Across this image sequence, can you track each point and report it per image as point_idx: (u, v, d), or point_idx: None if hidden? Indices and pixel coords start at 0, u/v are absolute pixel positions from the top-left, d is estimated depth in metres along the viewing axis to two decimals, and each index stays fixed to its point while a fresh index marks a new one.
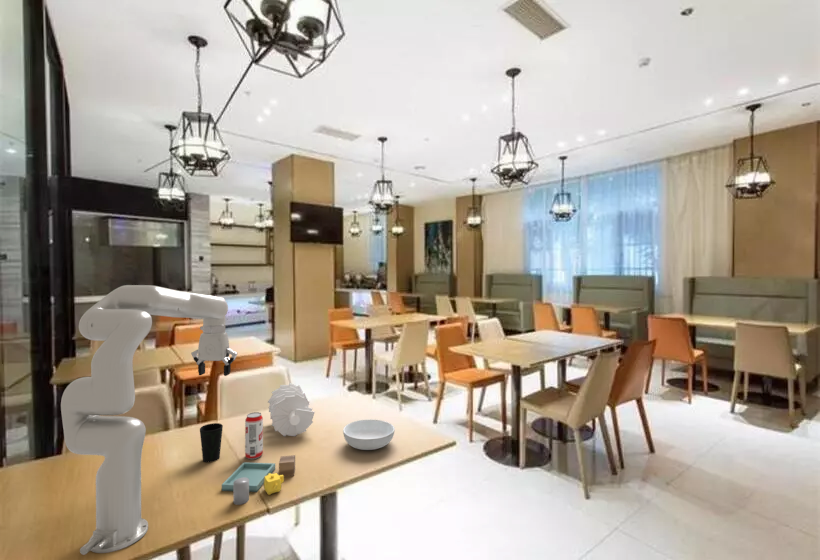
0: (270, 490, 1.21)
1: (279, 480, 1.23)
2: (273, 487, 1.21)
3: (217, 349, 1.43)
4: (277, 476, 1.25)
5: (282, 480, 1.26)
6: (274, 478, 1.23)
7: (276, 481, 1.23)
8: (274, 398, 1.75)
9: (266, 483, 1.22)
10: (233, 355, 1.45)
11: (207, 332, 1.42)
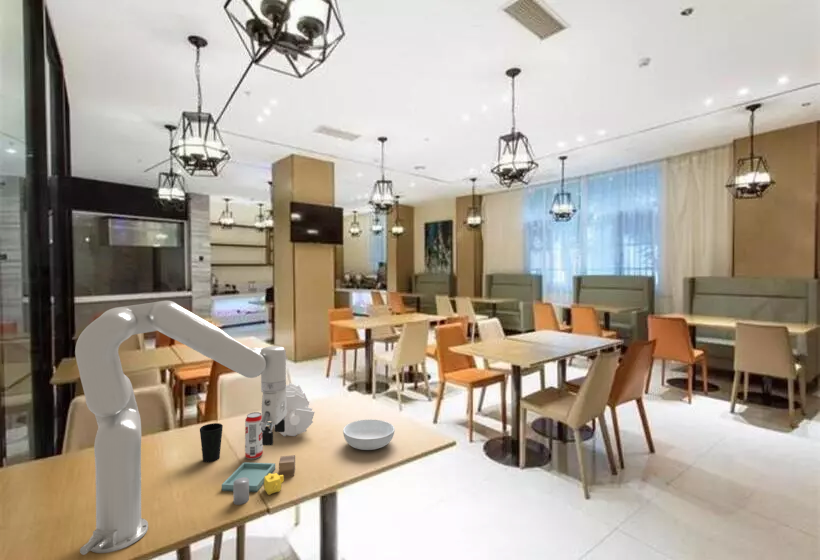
0: (270, 490, 1.21)
1: (279, 480, 1.23)
2: (273, 487, 1.21)
3: (285, 404, 1.27)
4: (277, 476, 1.25)
5: (282, 480, 1.26)
6: (274, 478, 1.23)
7: (276, 481, 1.23)
8: None
9: (266, 483, 1.22)
10: None
11: (284, 387, 1.24)
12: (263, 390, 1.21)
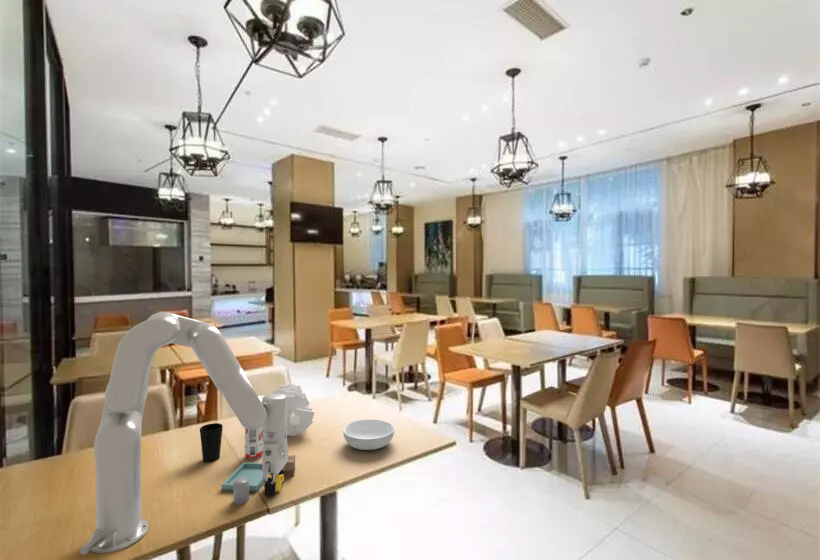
0: None
1: (279, 479, 1.23)
2: None
3: (286, 451, 1.27)
4: (277, 475, 1.25)
5: (282, 479, 1.26)
6: None
7: (276, 480, 1.23)
8: None
9: None
10: None
11: (285, 436, 1.23)
12: (264, 439, 1.21)
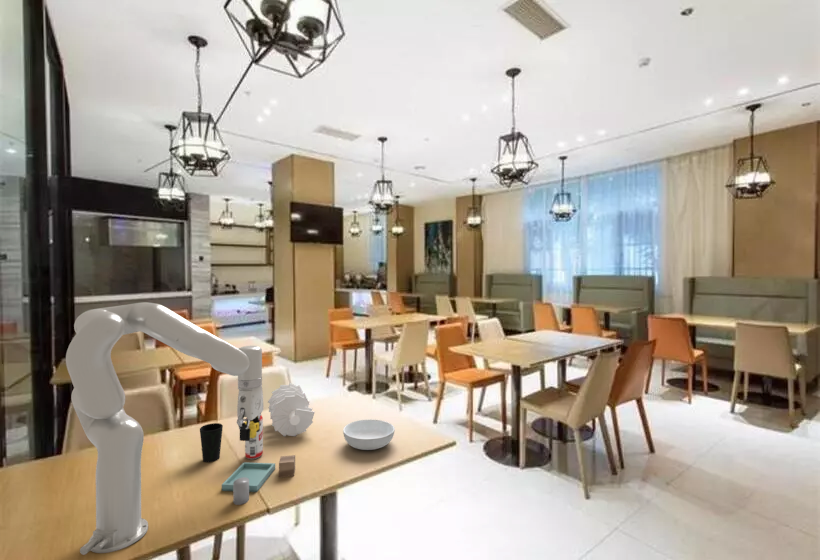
0: None
1: (254, 426, 1.30)
2: None
3: (261, 401, 1.33)
4: (253, 423, 1.31)
5: (257, 427, 1.32)
6: (250, 425, 1.30)
7: (251, 427, 1.29)
8: (274, 398, 1.75)
9: None
10: None
11: (259, 385, 1.30)
12: (239, 387, 1.27)
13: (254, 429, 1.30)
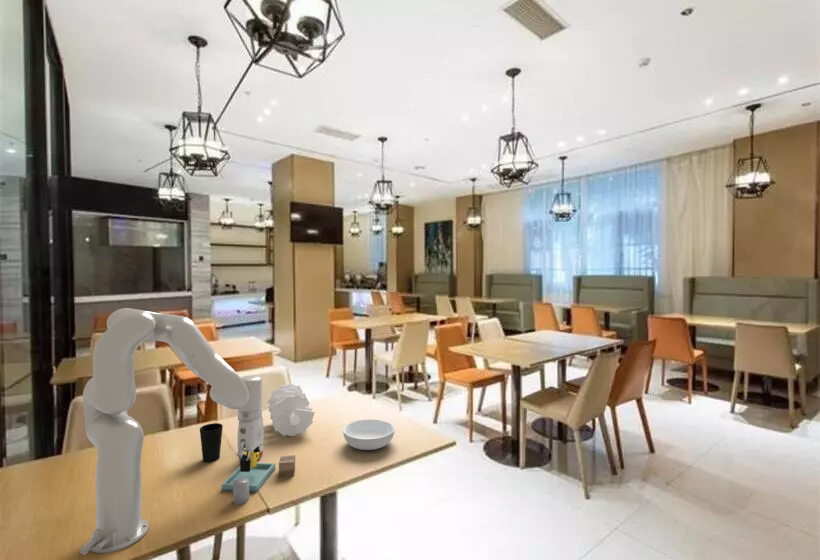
0: None
1: (255, 457, 1.30)
2: None
3: (261, 430, 1.33)
4: (253, 453, 1.32)
5: (258, 457, 1.33)
6: (250, 455, 1.30)
7: (252, 458, 1.29)
8: (274, 398, 1.75)
9: None
10: None
11: (259, 415, 1.30)
12: (239, 418, 1.28)
13: (254, 459, 1.30)
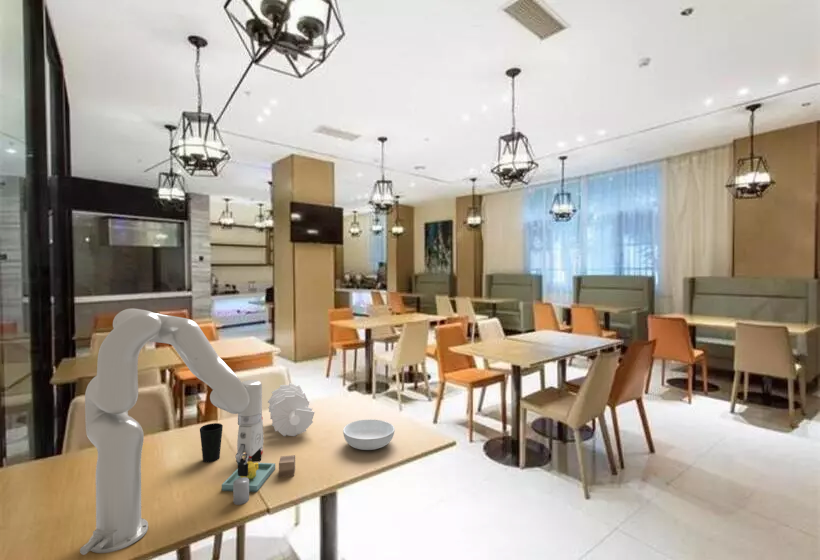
0: (245, 477, 1.28)
1: (254, 467, 1.30)
2: (248, 474, 1.28)
3: (261, 435, 1.33)
4: (252, 464, 1.31)
5: (257, 467, 1.32)
6: (249, 465, 1.30)
7: (251, 468, 1.29)
8: (274, 398, 1.75)
9: None
10: None
11: (259, 420, 1.30)
12: (239, 423, 1.28)
13: (254, 470, 1.30)
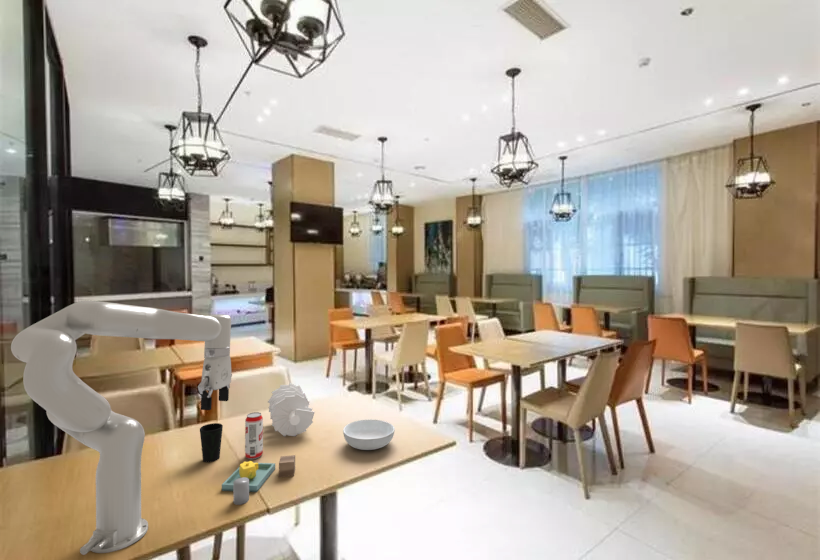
0: (245, 477, 1.28)
1: (254, 467, 1.30)
2: (248, 474, 1.28)
3: (228, 372, 1.29)
4: (252, 464, 1.31)
5: (257, 467, 1.32)
6: (249, 465, 1.30)
7: (251, 468, 1.29)
8: (274, 398, 1.75)
9: (241, 470, 1.29)
10: (230, 376, 1.34)
11: (227, 354, 1.26)
12: (205, 356, 1.23)
13: (254, 470, 1.30)
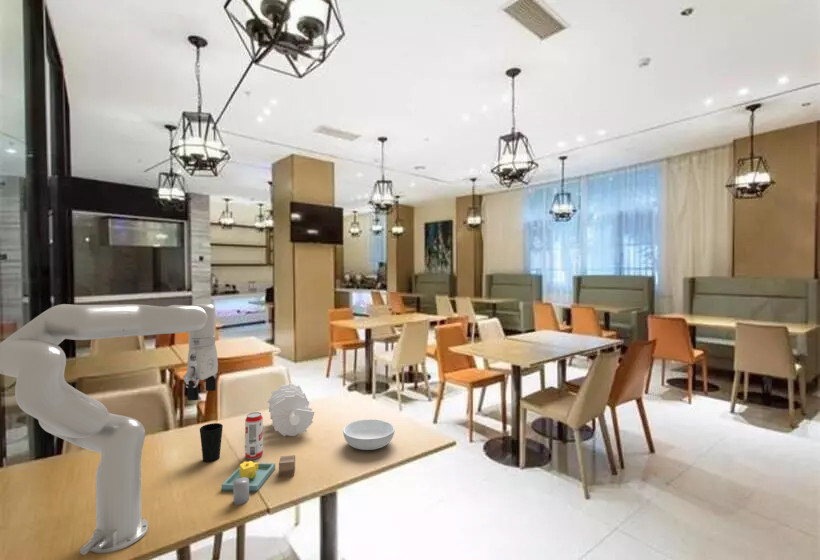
0: (245, 477, 1.28)
1: (254, 467, 1.30)
2: (248, 474, 1.28)
3: (215, 361, 1.27)
4: (252, 464, 1.31)
5: (257, 467, 1.32)
6: (249, 465, 1.30)
7: (251, 468, 1.29)
8: (274, 398, 1.75)
9: (241, 470, 1.29)
10: None
11: (212, 344, 1.24)
12: (190, 346, 1.22)
13: (254, 470, 1.30)
